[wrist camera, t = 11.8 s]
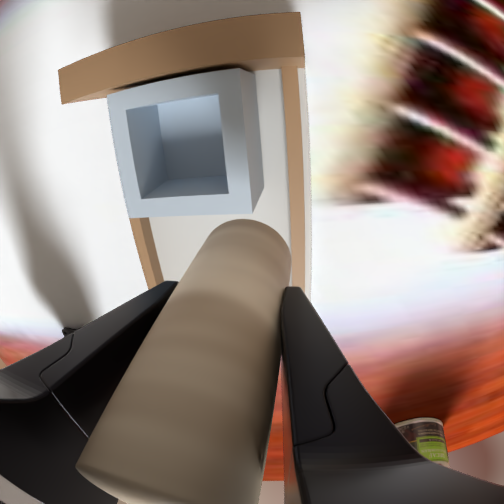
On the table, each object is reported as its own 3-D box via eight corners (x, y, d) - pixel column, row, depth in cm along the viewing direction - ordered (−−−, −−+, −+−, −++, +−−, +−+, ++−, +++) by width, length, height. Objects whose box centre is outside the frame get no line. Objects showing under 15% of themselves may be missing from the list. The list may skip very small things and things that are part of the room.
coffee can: (400, 412, 28) (409, 524, 16) (457, 419, 28) (474, 512, 16) (353, 449, 34) (351, 541, 21) (410, 454, 34) (415, 535, 21)
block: (264, 187, 18) (252, 214, 14) (161, 192, 19) (128, 218, 15) (255, 74, 15) (239, 68, 11) (146, 91, 16) (106, 95, 12)
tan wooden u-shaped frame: (309, 321, 24) (307, 381, 18) (167, 314, 26) (139, 364, 21) (302, 38, 14) (300, 12, 9) (117, 69, 16) (58, 69, 11)
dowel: (291, 298, 11) (257, 536, 4) (209, 294, 11) (119, 502, 4) (291, 219, 9) (246, 506, 3) (197, 219, 10) (42, 439, 3)
